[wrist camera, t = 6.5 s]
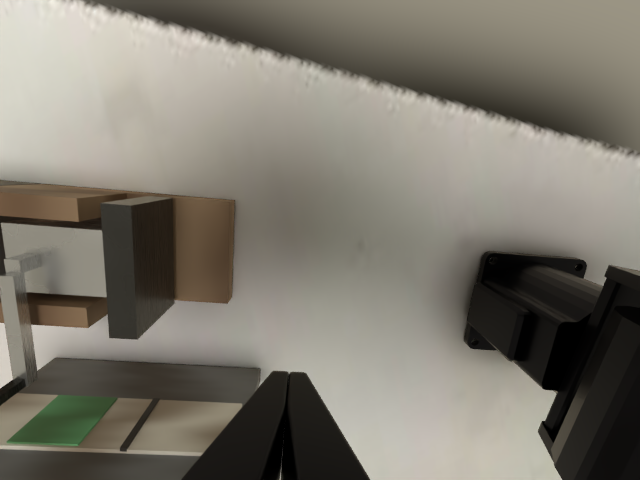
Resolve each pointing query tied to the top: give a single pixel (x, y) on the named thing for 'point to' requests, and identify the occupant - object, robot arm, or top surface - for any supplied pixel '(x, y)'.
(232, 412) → the frame
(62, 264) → the box with dark endplate
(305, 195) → the top surface
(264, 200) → the top surface
